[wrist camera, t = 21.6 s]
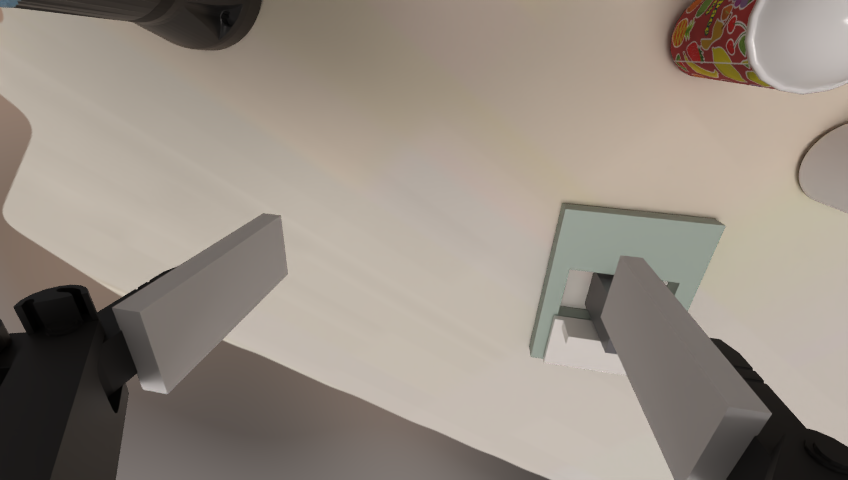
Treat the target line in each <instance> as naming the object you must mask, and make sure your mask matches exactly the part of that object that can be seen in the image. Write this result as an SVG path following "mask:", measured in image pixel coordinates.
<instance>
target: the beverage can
mask: <svg viewBox="0 0 848 480" xmlns="http://www.w3.org/2000/svg"><path fill="white" fill-rule="evenodd" d="M799 183H800V186H801V188H802V190H803V191H804V193H805V194H806V195H807V196H808V197H810V198H811V199H813V200H815V201H817V202H820V203H822V204H825V205H828V206H830V207H833V208H835V209H838V210H840V211H843V212H845V213H848V124H845V125H842V126H840V127H838V128H836V129H834V130H832V131H831V132H829V133H827V134H826V135H825V136H823V137H822V138H821V139H819V140H818V141H817V142H816V143H815V144H814V145H813V146H812V147H811V149H810V150H809V151H808V152H807V154H806V155H805V157H804V159H803V161H802V163H801V166H800V170H799Z"/></svg>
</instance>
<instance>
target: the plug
mask: <svg viewBox="0 0 848 480" xmlns="http://www.w3.org/2000/svg"><path fill="white" fill-rule="evenodd" d="M613 277H614V275H611V274H603V273H595V272H594V273H593V277H592V280H591V284H590V287H589V291H588V294H587V298H586V301H585V305H586V308H587V310H588V313H589V315H590V317H591V320H592V322H593V325H594V327H595V330H596V332H597V334H598V337H599V339H600V342H601V344H602V347H603V349H604V351H605V353H611V354H617V352H616V350H615V348H614V346H613V343H612V341H611V339H610V337H609V335H608V332H607V330H606V328H605V326H604V324H603V321H602V319H601V314H602V311H603V308H604V305H605V302H606V299H607V296H608V293H609V289H610V286H611V283H612V280H613Z"/></svg>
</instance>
